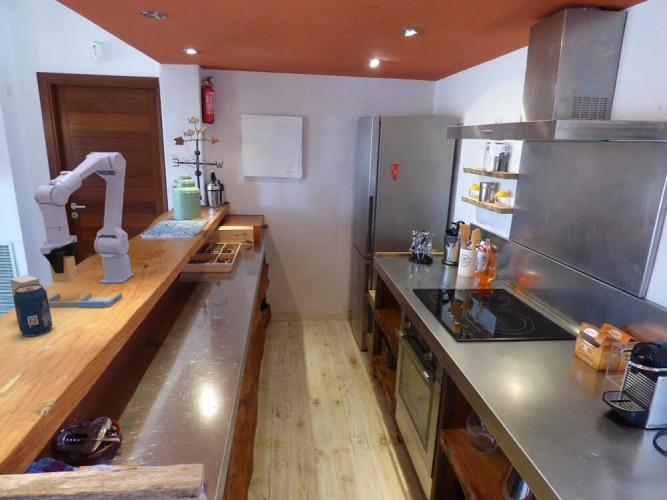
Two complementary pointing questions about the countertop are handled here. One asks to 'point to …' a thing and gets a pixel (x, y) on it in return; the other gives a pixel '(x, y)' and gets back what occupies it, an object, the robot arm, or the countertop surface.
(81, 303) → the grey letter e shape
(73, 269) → the tan cardboard-colored block
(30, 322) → the soda can
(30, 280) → the skincare box
